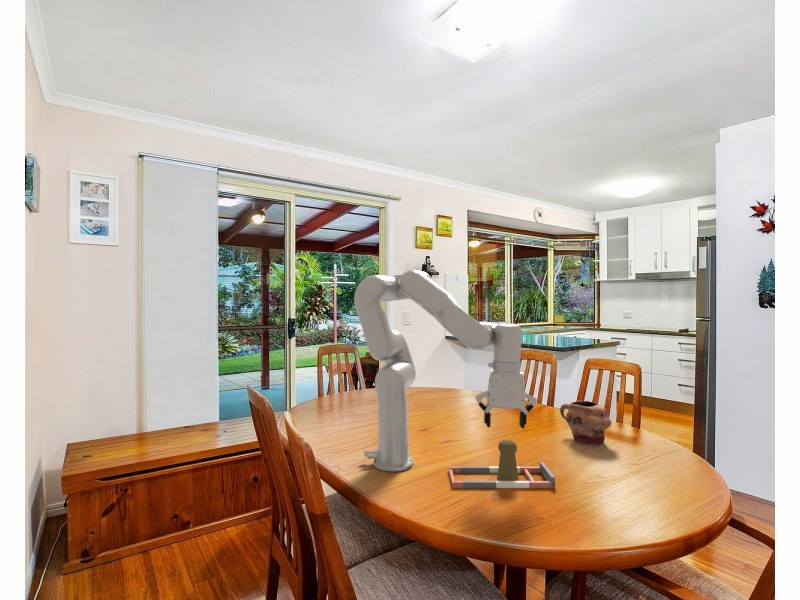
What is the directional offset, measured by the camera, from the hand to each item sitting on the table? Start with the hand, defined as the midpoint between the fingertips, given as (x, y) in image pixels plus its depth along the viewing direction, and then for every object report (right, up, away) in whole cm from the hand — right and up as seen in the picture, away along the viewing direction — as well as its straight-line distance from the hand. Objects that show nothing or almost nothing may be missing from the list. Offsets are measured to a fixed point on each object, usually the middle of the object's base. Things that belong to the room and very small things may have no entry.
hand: (504, 426), depth 122 cm
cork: (+1, -15, 0) cm, 15 cm away
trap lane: (-2, -15, 0) cm, 15 cm away
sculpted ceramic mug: (+36, -15, +32) cm, 51 cm away
